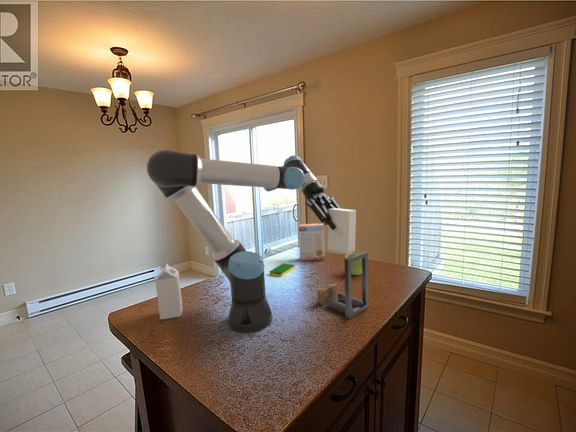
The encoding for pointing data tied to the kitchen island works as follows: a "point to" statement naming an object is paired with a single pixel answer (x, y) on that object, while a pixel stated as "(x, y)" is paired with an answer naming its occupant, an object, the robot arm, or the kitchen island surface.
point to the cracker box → (311, 242)
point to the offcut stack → (327, 293)
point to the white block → (348, 226)
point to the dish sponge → (282, 270)
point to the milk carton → (169, 293)
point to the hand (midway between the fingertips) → (345, 234)
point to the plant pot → (355, 266)
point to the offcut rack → (347, 297)
